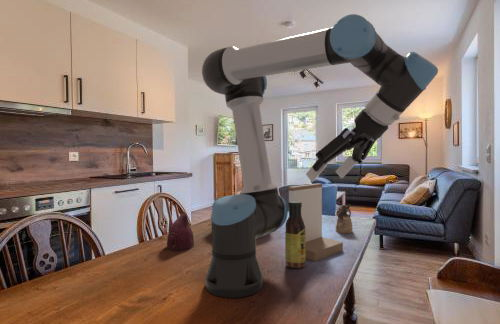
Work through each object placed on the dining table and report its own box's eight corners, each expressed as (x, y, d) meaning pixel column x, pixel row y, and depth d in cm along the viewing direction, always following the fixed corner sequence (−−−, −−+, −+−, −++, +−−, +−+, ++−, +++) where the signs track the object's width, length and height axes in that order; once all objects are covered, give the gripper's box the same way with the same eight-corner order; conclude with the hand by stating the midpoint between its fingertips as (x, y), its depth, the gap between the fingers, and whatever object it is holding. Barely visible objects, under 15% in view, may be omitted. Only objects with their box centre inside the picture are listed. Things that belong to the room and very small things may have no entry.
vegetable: (197, 254, 113) (207, 217, 112) (174, 258, 106) (184, 218, 104) (183, 242, 120) (191, 207, 119) (160, 244, 113) (169, 207, 111)
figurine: (337, 228, 137) (337, 202, 136) (353, 230, 134) (353, 203, 133) (334, 232, 130) (334, 205, 130) (351, 234, 127) (351, 206, 127)
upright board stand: (314, 261, 96) (313, 189, 95) (288, 253, 104) (288, 187, 103) (343, 250, 106) (343, 185, 106) (318, 243, 115) (317, 183, 114)
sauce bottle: (305, 270, 89) (305, 204, 88) (284, 268, 90) (284, 203, 90) (305, 262, 95) (305, 200, 95) (286, 261, 97) (285, 200, 96)
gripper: (359, 124, 62) (303, 190, 74) (410, 129, 78) (357, 182, 90) (337, 102, 66) (287, 168, 77) (389, 111, 82) (341, 164, 94)
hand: (324, 176), depth 84 cm, fingers open, 13 cm apart
